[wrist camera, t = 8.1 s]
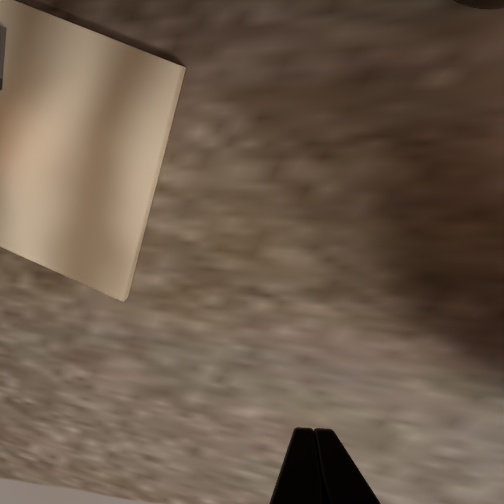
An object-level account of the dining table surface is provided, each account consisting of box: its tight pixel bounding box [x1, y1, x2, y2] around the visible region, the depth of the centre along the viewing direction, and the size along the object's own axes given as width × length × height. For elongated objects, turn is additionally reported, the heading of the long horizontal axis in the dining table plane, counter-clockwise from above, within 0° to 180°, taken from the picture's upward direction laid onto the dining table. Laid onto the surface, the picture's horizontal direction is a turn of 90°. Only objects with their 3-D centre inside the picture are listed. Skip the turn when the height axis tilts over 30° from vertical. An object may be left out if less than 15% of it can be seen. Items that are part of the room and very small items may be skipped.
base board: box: [0, 0, 186, 302], centre depth 22 cm, size 19×14×1 cm
